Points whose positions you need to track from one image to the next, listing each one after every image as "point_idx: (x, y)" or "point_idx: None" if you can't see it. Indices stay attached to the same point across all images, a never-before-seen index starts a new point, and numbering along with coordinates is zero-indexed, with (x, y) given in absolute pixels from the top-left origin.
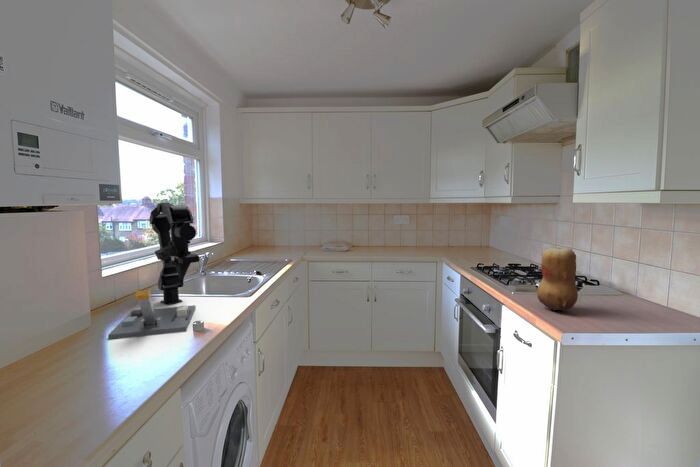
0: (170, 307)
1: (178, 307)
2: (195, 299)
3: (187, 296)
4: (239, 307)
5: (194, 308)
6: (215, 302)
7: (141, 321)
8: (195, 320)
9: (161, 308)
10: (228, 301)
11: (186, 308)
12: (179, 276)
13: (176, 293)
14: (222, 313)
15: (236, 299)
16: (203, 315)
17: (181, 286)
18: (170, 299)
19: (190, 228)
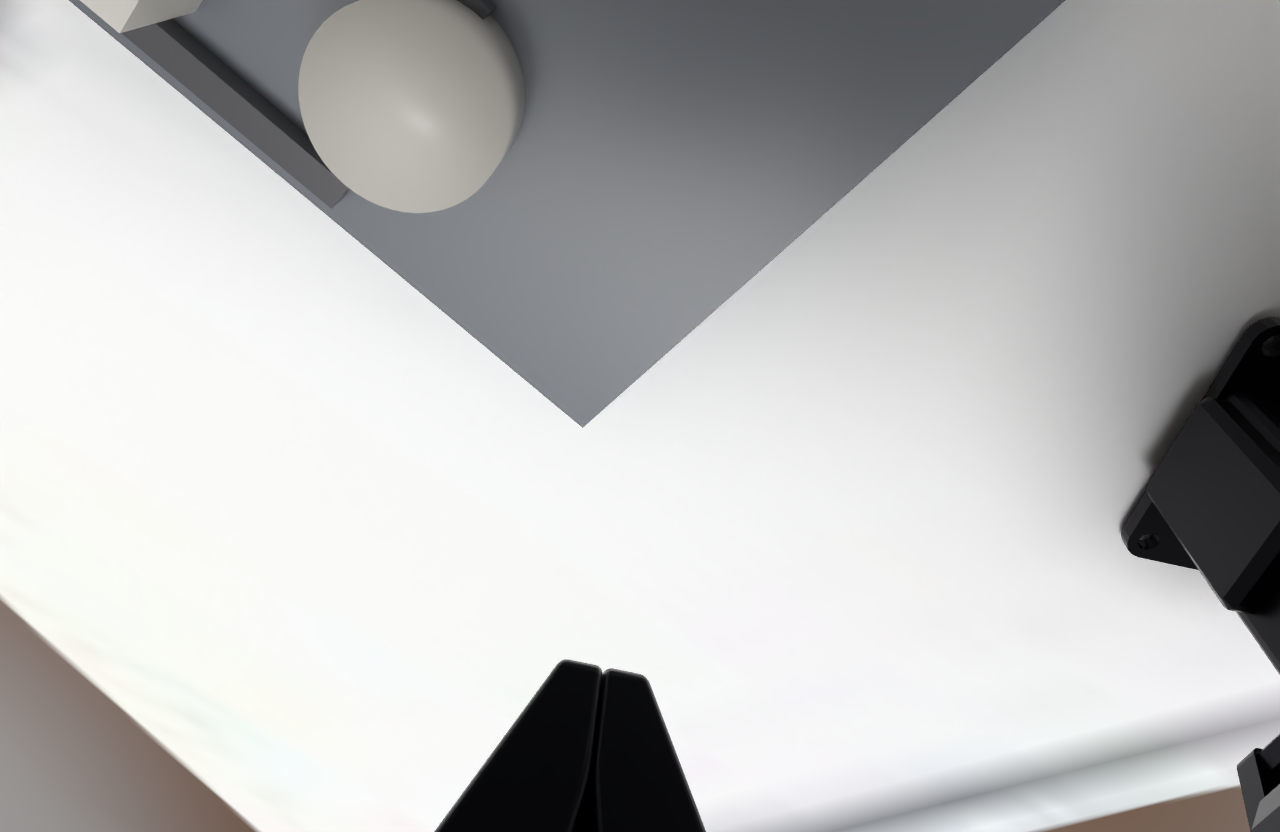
0: (897, 146)
1: (444, 44)
2: (1003, 672)
3: (1252, 720)
4: (150, 655)
5: (483, 335)
6: None
7: None
8: (28, 9)
9: (1031, 7)
10: None
11: (89, 6)
12: (623, 730)
13: (1225, 570)
14: (68, 423)
15: None
16: (186, 244)
17: (1261, 760)
18: (1262, 425)
19: None
